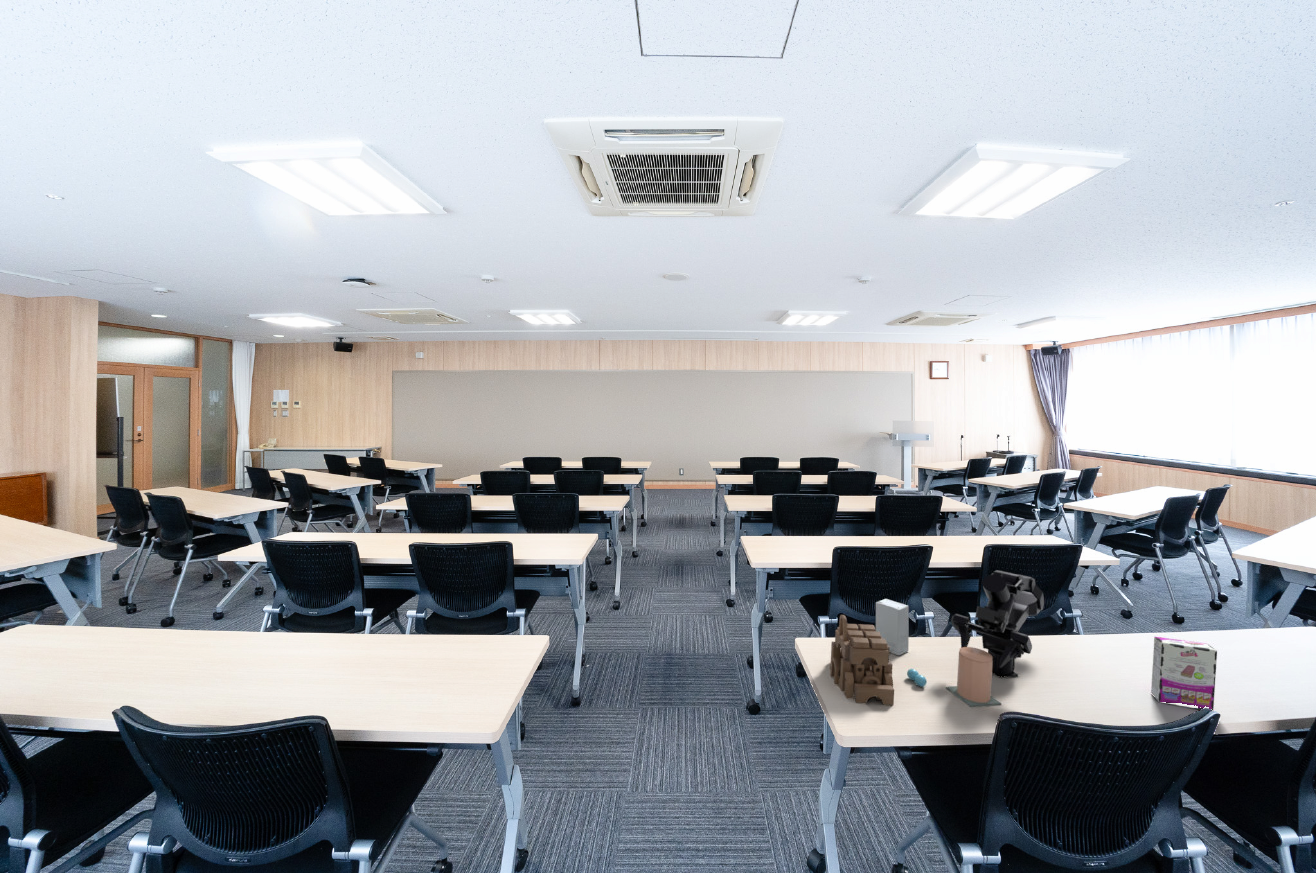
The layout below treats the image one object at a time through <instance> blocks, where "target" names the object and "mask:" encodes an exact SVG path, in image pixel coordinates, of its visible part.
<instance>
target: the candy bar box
mask: <svg viewBox="0 0 1316 873" xmlns="http://www.w3.org/2000/svg"><path fill="white" fill-rule="evenodd" d="M1153 638H1154V639H1153V652H1152V653H1153V655H1152V671H1151V672H1152V674H1151V688H1150V689H1151V690H1150V694H1151V693H1152V694H1153V695H1154V696H1155V698H1154V699H1155V700H1156V699H1157V700H1158V701H1159V702H1158V701H1157V700H1156V701H1157V702H1158V703H1160V702H1166V703H1182V704H1187V705H1194V706H1195V705H1196V706H1198V709H1197V710H1199V709H1203V708H1204V707H1205V706H1206V707H1209V709H1212V710H1213V711H1214V707H1215V706H1214V705H1215V689H1216V674H1217V659H1218V650H1217V649H1215V648H1214V647H1213V646H1211V645H1210V644H1208V643H1205V642H1197V641H1191V640H1185V639H1183V640H1182V639H1177V638H1176V639H1175V638H1169V637H1161V636H1154V637H1153ZM1152 694H1151V695H1152ZM1200 707H1201V708H1200Z"/></svg>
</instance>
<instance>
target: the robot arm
mask: <svg viewBox="0 0 1316 873" xmlns="http://www.w3.org/2000/svg"><path fill="white" fill-rule="evenodd" d="M981 583H982V584H981V585H982V587H983V590H984V593H985V595H986V597H987V599H988V601H987V604H986V605H985V606H984V607H983V606H979V605H978V606H977V607H976V612H975V615H974V617H975V618H976V621H977V623H978V624H977V623H974V622H971V620H970V617H969V616H964V615H961V614H959V613H954V614H953V615H952V616H951V620H950V622H951V624H952V626H953V628H954V629H955V631H957V633H958V634H959V635H960V648H962V647H969V642H970V641H971V637H972V636H971V633H972V632H973V631H974V632H976V633H980V634H981V640H982V648H983V649H985V650H987V652H988V653H989V654H991V655H992V660H993V664H992V675H994V676H996V677H997V678H1016V677H1019V674H1018V673H1017V672H1015V662H1016V661H1015V659H1019V658H1020V659H1021V658H1022V656H1023V655H1024V654H1028V655H1029V654H1031V652H1032V649H1033V644H1032V641H1031V638H1030V637H1029V635H1028V634H1026V633H1021V632H1019V631H1020V629H1021V628H1022V626H1023V625H1024V623H1025V622H1026V620H1027V618H1029V617H1030V616H1031V617H1032V616H1037V615H1038V614H1039V613H1040V612H1041V611H1043V610H1044V606H1045V598H1044V592H1043V591H1042V590H1041V589H1040V587H1039V586H1038V585H1037V584H1036V579H1035V578H1033V577H1032V576H1028V575H1023V574H1016V573H1013V572H1008V571H1003V570H997V569H996V570H995V571H993V572H992V573H991V574H988V575H986V576H985V577H984V578H983V579H982V581H981ZM1025 590H1028V591H1025ZM1029 591H1030V592H1029Z"/></svg>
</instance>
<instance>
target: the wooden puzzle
mask: <svg viewBox="0 0 1316 873" xmlns="http://www.w3.org/2000/svg"><path fill="white" fill-rule="evenodd" d="M834 637H835V638H834V641H831V647H830V668H829V669H830V678H833V684H834V685H838V688H839V689H840V691H841V693H842V692H843V694H844V696H845V699H853V700H854V702H855V703H856V704H864V705H865V704H867V703H868V700H869V699H870V698H874V697H875V699H876V700H880V702H881V703H882V705H884V706H885V705H887V706H895V705H894V704H895V702H894V701H895V689H894V681H893V680H894V679H893V663H892V662H891V661H890V653H891V652H890V647H889V646H888V645H887V642H886V640H885V639H883V638H882V637H881V635H880V633H879V632H876V626H875V625H873V624H863V623H862V624H861V623H860V624H859V623H858V624H857V623H848V620H847V617H846V615H845V614H840V615H839V626H837V629H835V636H834Z"/></svg>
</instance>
